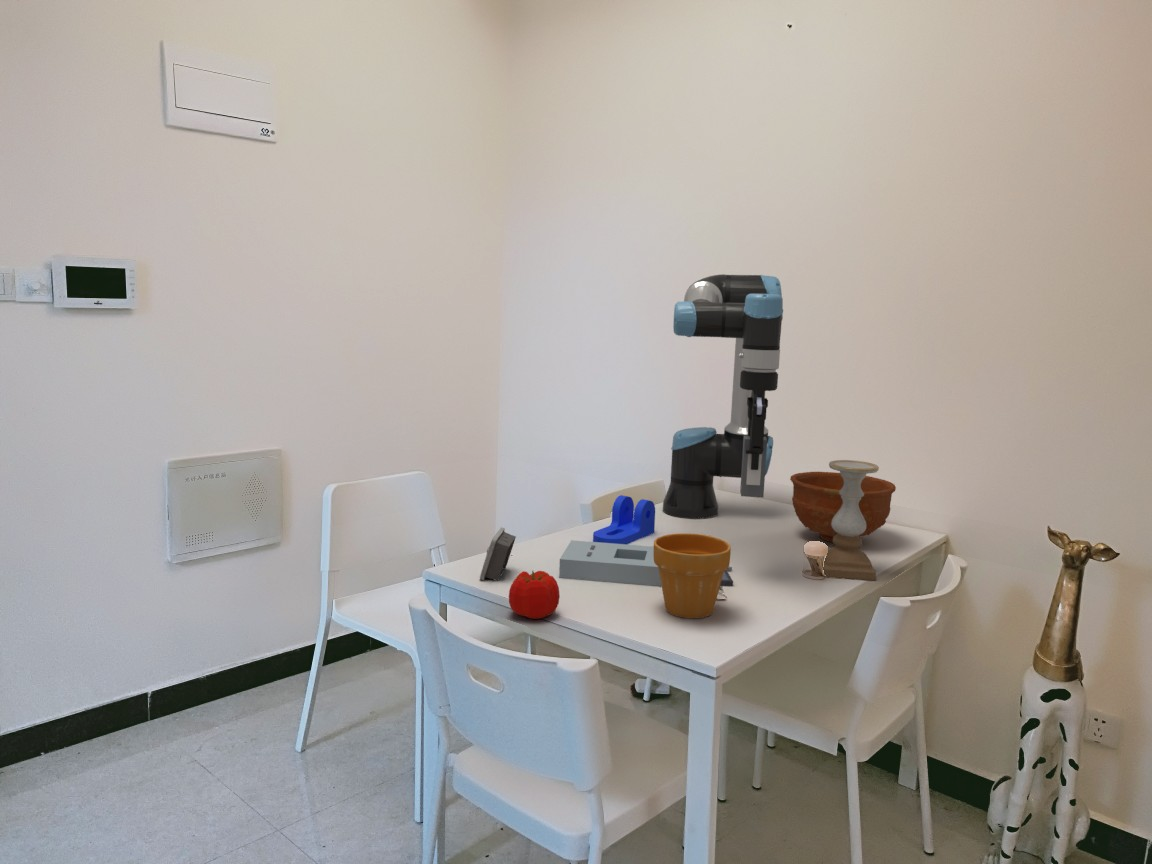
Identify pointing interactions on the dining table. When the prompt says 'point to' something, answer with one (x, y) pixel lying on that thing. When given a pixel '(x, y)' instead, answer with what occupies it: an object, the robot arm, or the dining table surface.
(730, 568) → the usb cable
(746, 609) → the dining table surface
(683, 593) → the flower pot
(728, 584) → the phone
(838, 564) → the candle holder
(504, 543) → the electrical switch
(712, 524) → the dining table surface
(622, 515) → the bracket
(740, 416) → the robot arm
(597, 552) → the plate
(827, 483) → the bowl
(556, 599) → the tomato
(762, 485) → the plug
